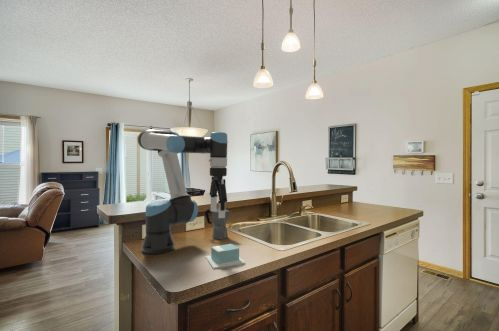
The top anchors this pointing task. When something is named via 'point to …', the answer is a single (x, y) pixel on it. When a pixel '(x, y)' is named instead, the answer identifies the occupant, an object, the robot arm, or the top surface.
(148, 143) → the robot arm
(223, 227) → the coffeepot
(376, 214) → the top surface
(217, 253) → the light blue block
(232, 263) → the mat
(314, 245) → the top surface
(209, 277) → the top surface
